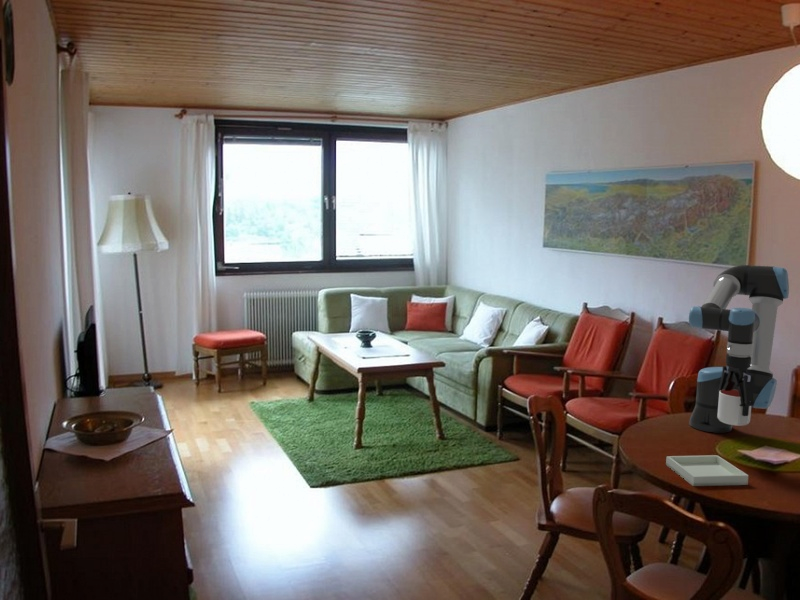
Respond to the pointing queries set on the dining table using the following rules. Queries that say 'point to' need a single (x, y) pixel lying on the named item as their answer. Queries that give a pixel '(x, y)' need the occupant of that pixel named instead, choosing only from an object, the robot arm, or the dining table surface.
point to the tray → (706, 470)
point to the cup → (730, 407)
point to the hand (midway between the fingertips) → (733, 419)
